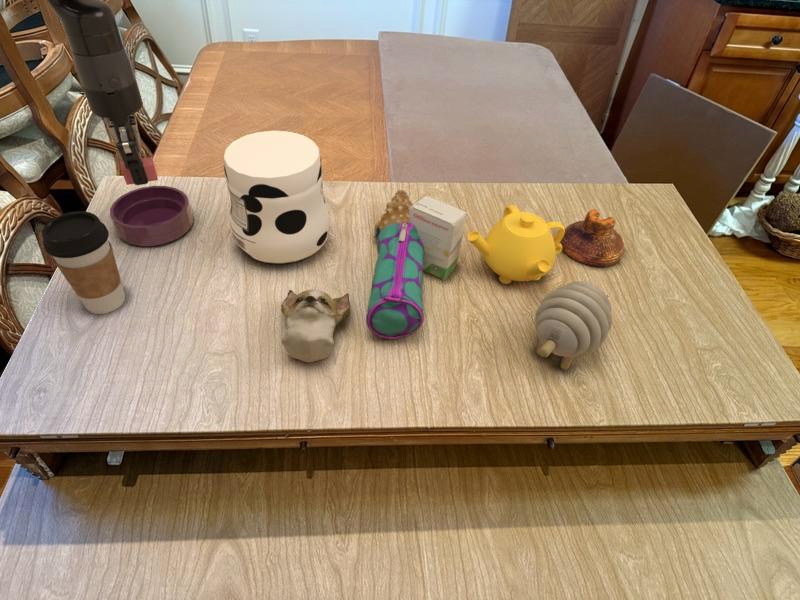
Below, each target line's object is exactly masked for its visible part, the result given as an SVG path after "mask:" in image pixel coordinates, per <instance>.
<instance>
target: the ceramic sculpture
mask: <svg viewBox="0 0 800 600" xmlns="http://www.w3.org/2000/svg"><path fill="white" fill-rule="evenodd" d="M280 307H281V309H280V311H281V313H282V314H283V316H284V318H286V321H285V325H286V332H285V334H284V335H283V337H282V338H281V344H282V346H283V348H284V351H285V352H286V353H287V354H288V355H289V356H290V357H292V358H293V359H296V360H299V361H302V362H304V363H312V362H313V363H314V362H316V361H321V360H325V359H327V358H328V357H329V356H330V355H331V353H332V352H333V350H334V347H335V341H334V339H333V337H334V331H335V329H336V325H338V324H339V323H341V322H342V321H343V320H344V319H345V318H346V317H347V316H348V314H349V313H350V311H351V302H350V294H349V292H347V293H345V294H344V295H342V296H340V297H336V298H333V299H332V297H331V296H330V295H329V294H327V293H326V292H325V291H322V290H319V289H309V290H304V291H301V292H299V293H298V294H295V293H294V291H293V290H291V289H289V290H288V293H287V296H286V298H285V299H284V301H283V302H282V303H281V305H280Z"/></svg>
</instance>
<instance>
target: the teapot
mask: <svg viewBox="0 0 800 600" xmlns="http://www.w3.org/2000/svg"><path fill="white" fill-rule="evenodd" d="M552 229H558V231H557V233H556V235H555V237H554V236H553V233H552V231H551V230H552ZM565 229H566V228H565V226H564V225H563V224H562V223H561V222H559V221H549V222H546V221H545V220H544V219H543V218H542V217H540V216H539V215H537V214H534V213H532V212H527V211H520V209H519V207H518V206H517V205H514V204H509V205H506V206H505V207H504V210H503V215H502V218H501V219H500V220H499V221H497V222H496V223H495V224H494V225H493V226H492V227H491V228H490V229H489V231H488V233H487V235H486V237H485V238H484V237H483V236H482V234H481V233H480V232H479V231H477V230H472V231H470V232H469V233H468V235H467V240H468V242H470V243H471V244H472V245H473V247H475V249H476V250H478V252H479V253H481V255H482V257H483V259H484V262H485V263H486V264H487V266H488V267H489V268H490V269H491V270H492V271H493V272H494V273H495V274H497V275H498V276H499V277H498V281H500V283H502V284H505V285H506V284H507V285H509V284H510V283H511V282H512V281H514V282H530V281H539V280H540V279H541V277H544V276H545V275H547V274H548V273H549V272H550V271H551V270H552V269H553V268H554V264H555V262H556V255H558V254H560V253H561V252H562V251H563V249H562V244H561V239H562V238H563V236H564V233H565Z"/></svg>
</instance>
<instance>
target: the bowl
mask: <svg viewBox="0 0 800 600" xmlns="http://www.w3.org/2000/svg"><path fill="white" fill-rule="evenodd" d="M109 216H110V218H111V221H112V224H113V226H114V229H115V231H116V234H117V235H118V237H119V239H121V240H122V241H123V242H126V243H127V244H129V245H133V246H138V247H154V246H159V245H164V244H168V243H170V242H172V241H176V240H177V239H180V238H181V237H182V236H184V235H186V234H187V233H188V231H189V230H190V229H191V228H192V226H193V223H194V216H193V213H192V208H191V205H190V200H189V197H188V195H187V194H186V193H185V192H184V191H183V190H180V189H179V188H176V187H173V186H167V185H150V186H143V187H142V186H141V187H139V188H136V189H132V190H129V191H128V192H126V193H124V194H122V195H120V196H119V197H118V198H117V199H115V201H114V202H113V203H112V205H111V206H110V208H109Z"/></svg>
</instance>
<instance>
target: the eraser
mask: <svg viewBox="0 0 800 600" xmlns="http://www.w3.org/2000/svg"><path fill="white" fill-rule="evenodd" d="M142 159H143V166H144V169H145V172H146V175H147V178H148V183H149V182H155V181H158V172H157V169H156V166H155V162H154V159H153V157H152V156H150V157H143V158H142ZM120 169H121V173H122V175H123V178H124V183H125V185H126V186H128V185H129V186H130V185H135V184H134V181H133V178H132V175H131V172H130V170H129V169H127V168H126V167H125V165H124V162H123V160H122V161H120Z"/></svg>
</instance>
